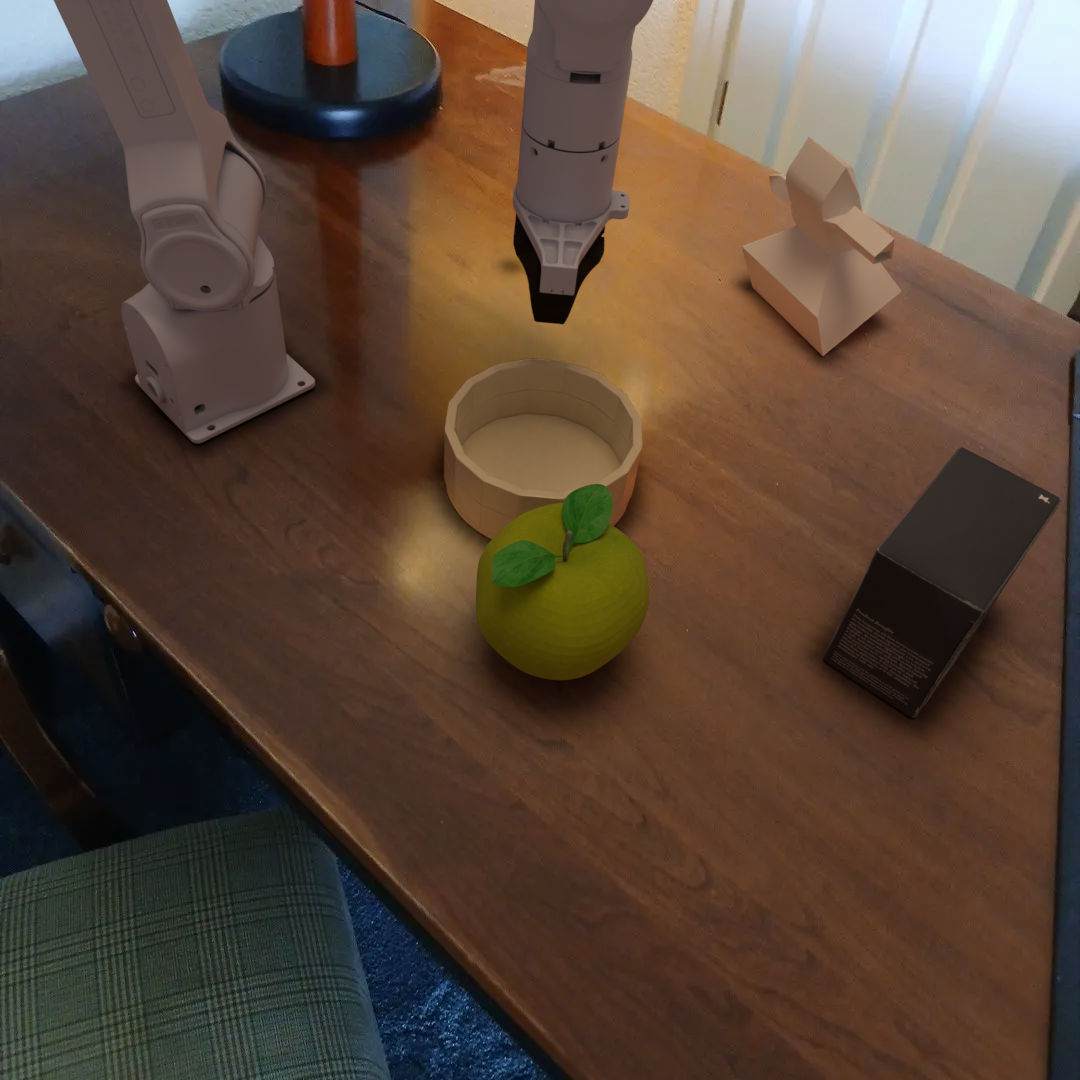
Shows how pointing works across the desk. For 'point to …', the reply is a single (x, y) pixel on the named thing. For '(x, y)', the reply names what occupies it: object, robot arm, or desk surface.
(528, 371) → the bowl
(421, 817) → the desk surface
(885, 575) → the small box
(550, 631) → the fruit
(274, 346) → the robot arm
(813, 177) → the beige block sculpture
